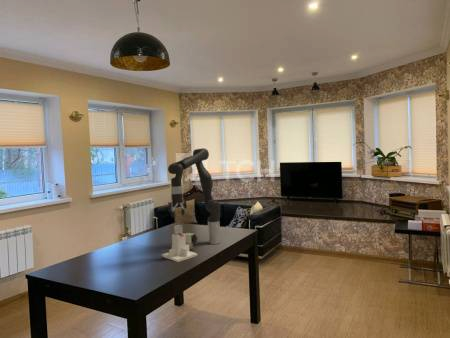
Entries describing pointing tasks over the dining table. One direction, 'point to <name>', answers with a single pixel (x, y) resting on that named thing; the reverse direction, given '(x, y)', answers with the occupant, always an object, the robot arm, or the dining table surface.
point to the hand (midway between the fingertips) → (177, 216)
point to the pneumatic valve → (190, 239)
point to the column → (178, 229)
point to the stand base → (179, 249)
